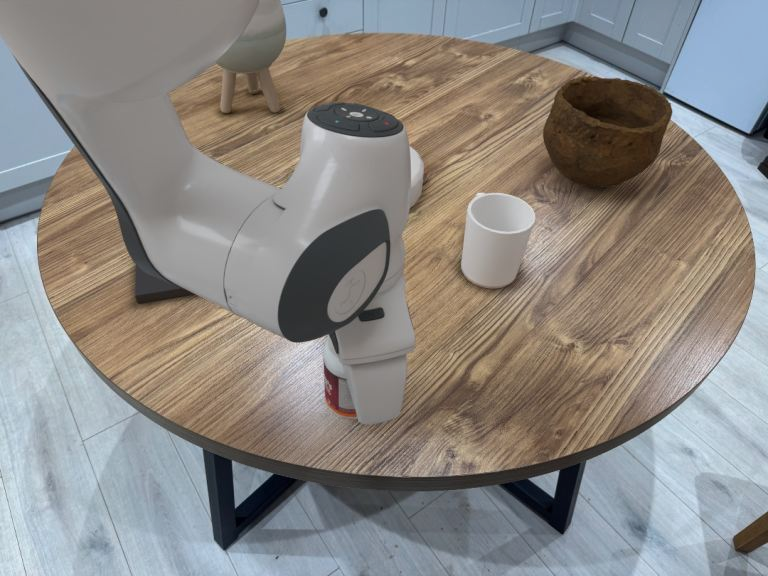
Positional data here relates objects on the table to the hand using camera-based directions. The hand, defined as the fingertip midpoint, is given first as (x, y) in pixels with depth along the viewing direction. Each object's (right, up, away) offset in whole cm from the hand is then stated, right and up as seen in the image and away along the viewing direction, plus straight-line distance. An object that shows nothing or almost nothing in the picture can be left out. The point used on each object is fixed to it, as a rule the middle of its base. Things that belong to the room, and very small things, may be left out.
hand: (352, 372), depth 61 cm
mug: (+18, +12, +22) cm, 31 cm away
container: (0, +27, +36) cm, 45 cm away
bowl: (+39, +28, +40) cm, 63 cm away
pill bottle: (0, -4, +3) cm, 5 cm away
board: (-20, +16, +23) cm, 35 cm away
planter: (-23, +46, +54) cm, 75 cm away
